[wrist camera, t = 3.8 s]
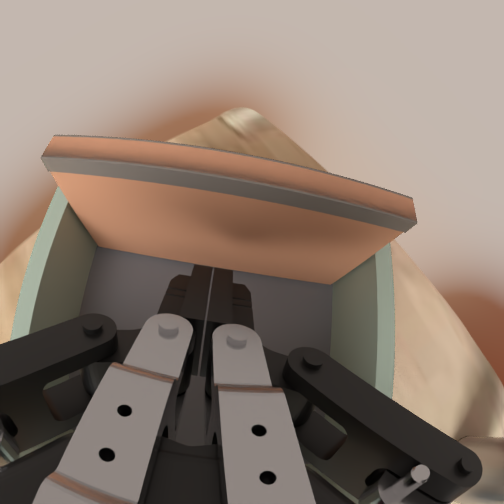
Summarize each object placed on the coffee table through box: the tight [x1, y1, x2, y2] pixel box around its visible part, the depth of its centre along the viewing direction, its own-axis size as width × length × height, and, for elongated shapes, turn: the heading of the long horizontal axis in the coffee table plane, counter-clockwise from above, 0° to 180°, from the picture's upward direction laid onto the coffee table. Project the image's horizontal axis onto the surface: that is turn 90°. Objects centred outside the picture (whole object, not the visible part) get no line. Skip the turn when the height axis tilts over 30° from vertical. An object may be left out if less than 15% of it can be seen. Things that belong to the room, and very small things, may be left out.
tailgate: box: [41, 135, 417, 285], centre depth 15 cm, size 1×17×10 cm, turn 84°
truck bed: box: [10, 186, 395, 504], centre depth 15 cm, size 16×20×16 cm
